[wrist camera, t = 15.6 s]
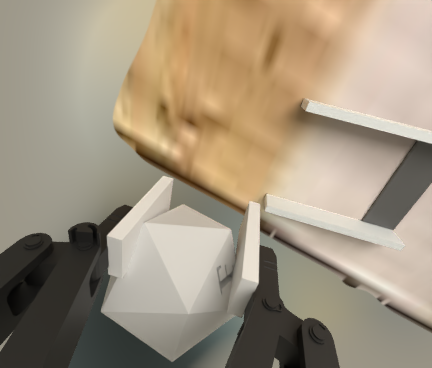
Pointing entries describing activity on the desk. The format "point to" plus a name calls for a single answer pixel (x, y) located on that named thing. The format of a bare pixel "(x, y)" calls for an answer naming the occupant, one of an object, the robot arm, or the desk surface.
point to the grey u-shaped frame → (389, 197)
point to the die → (175, 282)
